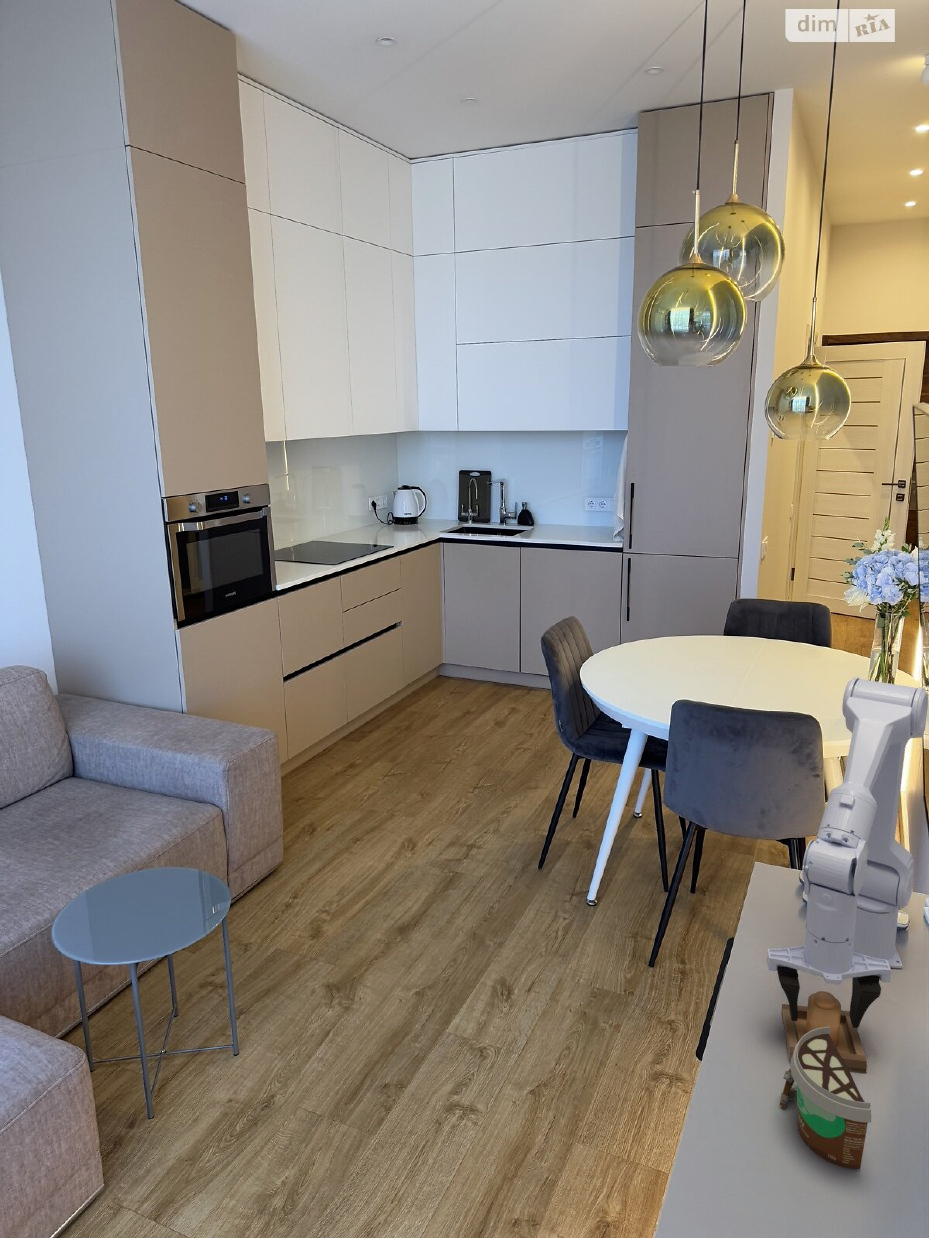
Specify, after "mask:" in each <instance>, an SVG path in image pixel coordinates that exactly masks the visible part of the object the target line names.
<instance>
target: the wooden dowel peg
mask: <svg viewBox="0 0 929 1238" xmlns="http://www.w3.org/2000/svg"><path fill="white" fill-rule="evenodd" d="M807 1007H808V1008H807V1022H806V1033H808V1032H810V1031H812V1030H814V1029H817V1028H822V1027H830V1037H831V1039H832V1041H833V1043H834V1045H835V1047H837V1045H838V1041H839V1029H840V1017H841V1010H842V1004H841V1002H840V1000H838V998H836V997H835V995H833V994H832V993H831V992H828V991H826V990H825V991H824V990H818V991H816V992H813V993H811V994H810V995H809V996H808V998H807Z"/></svg>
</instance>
